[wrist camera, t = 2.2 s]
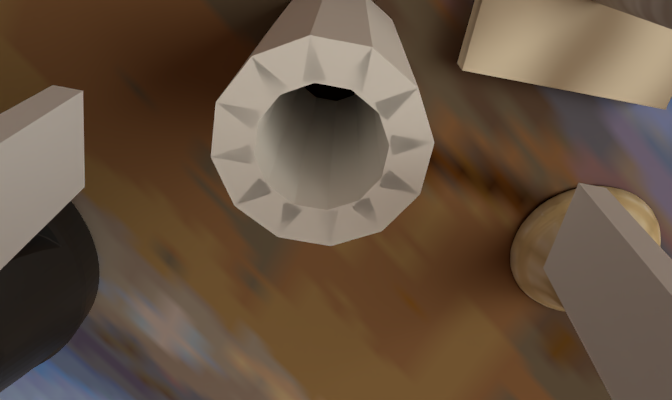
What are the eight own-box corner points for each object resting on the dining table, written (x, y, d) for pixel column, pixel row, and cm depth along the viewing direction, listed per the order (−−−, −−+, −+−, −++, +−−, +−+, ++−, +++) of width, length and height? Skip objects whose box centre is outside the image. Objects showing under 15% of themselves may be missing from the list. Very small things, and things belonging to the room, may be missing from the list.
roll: (258, 111, 29) (204, 224, 19) (276, -24, 26) (223, 18, 16) (384, 134, 30) (402, 258, 19) (414, 4, 27) (456, 63, 16)
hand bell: (590, 329, 35) (753, 613, 21) (480, 270, 33) (576, 536, 19) (691, 228, 32) (967, 483, 17) (575, 158, 30) (776, 377, 16)
